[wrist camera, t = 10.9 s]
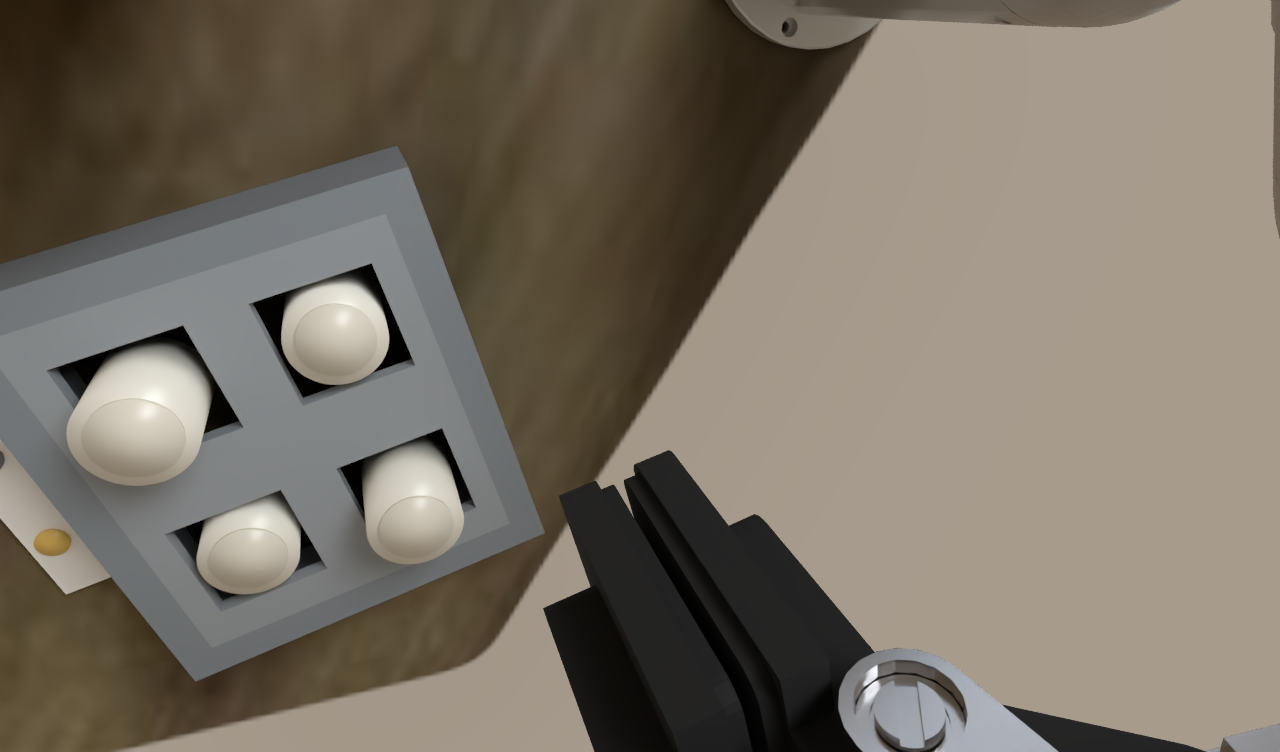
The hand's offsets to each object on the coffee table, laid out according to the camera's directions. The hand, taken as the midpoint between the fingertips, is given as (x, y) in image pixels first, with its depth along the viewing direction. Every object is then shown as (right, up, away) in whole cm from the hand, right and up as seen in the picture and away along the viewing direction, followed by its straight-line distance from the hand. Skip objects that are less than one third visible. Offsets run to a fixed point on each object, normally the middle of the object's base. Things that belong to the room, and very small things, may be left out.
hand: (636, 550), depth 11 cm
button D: (-19, -4, +28) cm, 34 cm away
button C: (-20, +2, +21) cm, 29 cm away
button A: (-14, +6, +25) cm, 29 cm away
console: (-17, +1, +27) cm, 32 cm away
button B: (-12, -2, +27) cm, 29 cm away
